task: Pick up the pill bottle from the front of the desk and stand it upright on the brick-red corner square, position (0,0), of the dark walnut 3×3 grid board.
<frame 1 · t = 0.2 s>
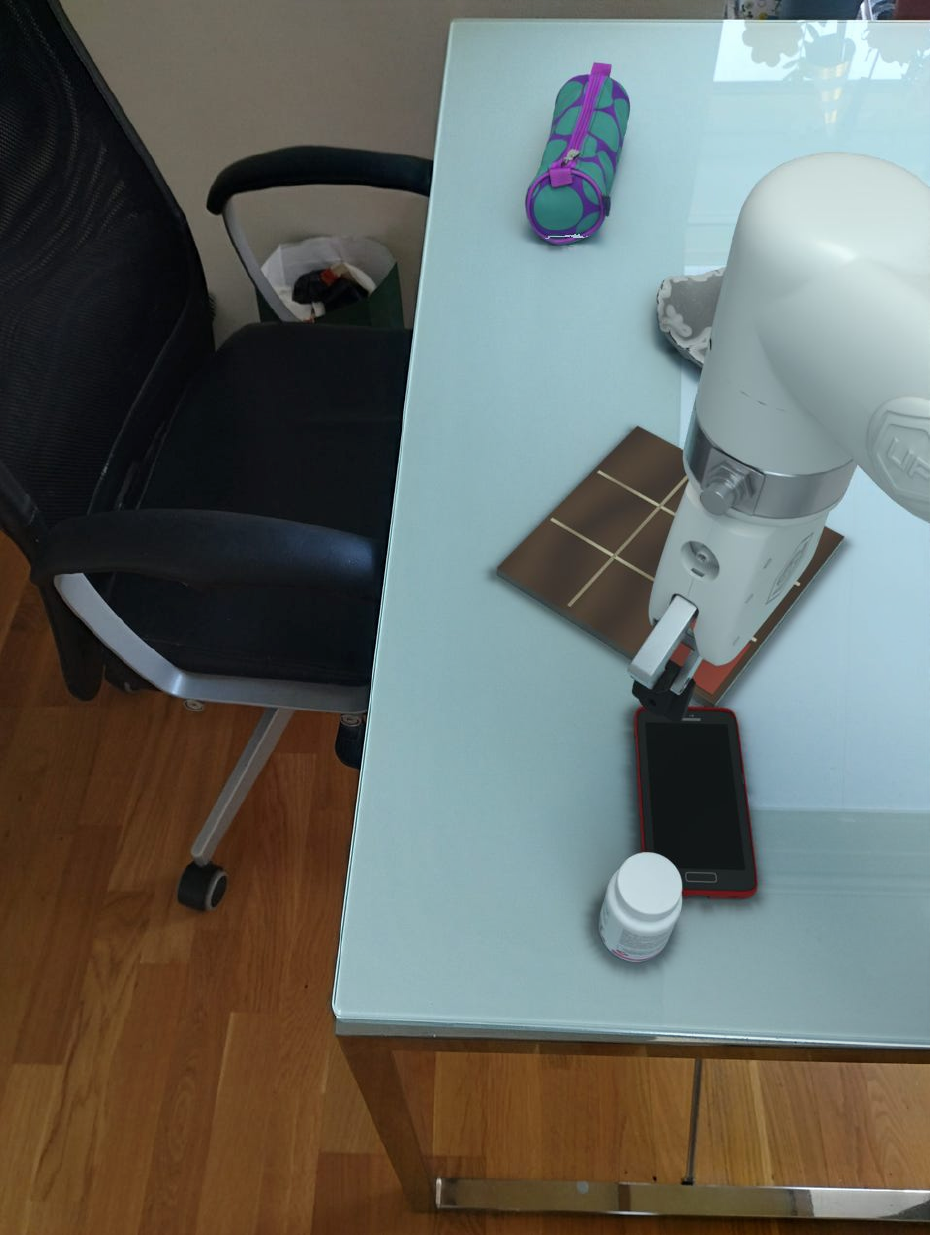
hand: (703, 649, 61), 19 cm above the table, tool pointing down, fingers open, 9 cm apart
grid board: (670, 559, 89), on the table
pencil case: (577, 196, 119), on the table
cell phone: (690, 801, 77), on the table
brain slice: (752, 348, 104), on the table
pill bottle: (632, 928, 72), on the table
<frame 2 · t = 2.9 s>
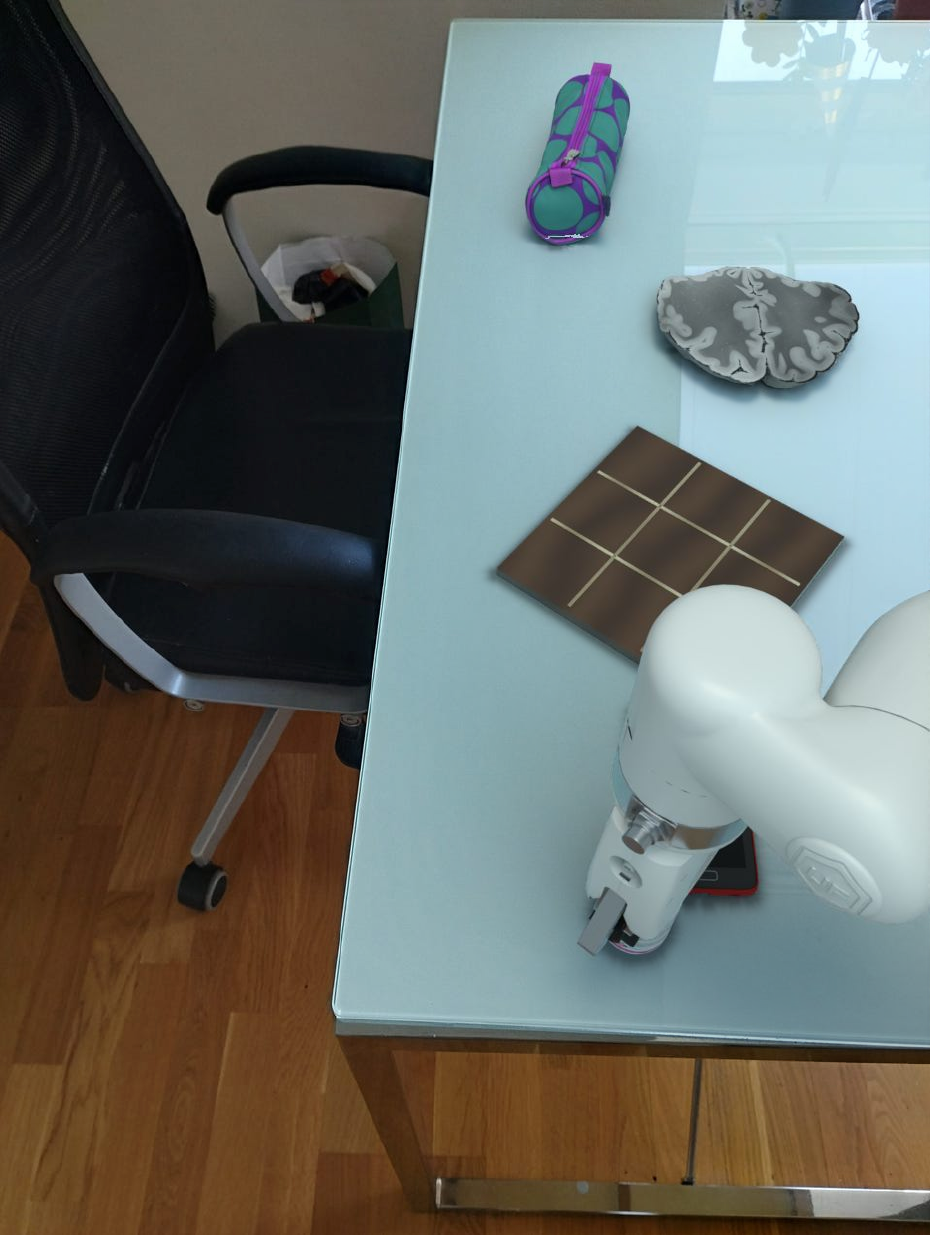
hand: (638, 895, 69), 4 cm above the table, tool pointing down, fingers closed on pill bottle, 4 cm apart
cell phone: (692, 799, 77), on the table, touching pill bottle
pill bottle: (633, 921, 72), on the table, touching cell phone, gripper
everything else where it was.
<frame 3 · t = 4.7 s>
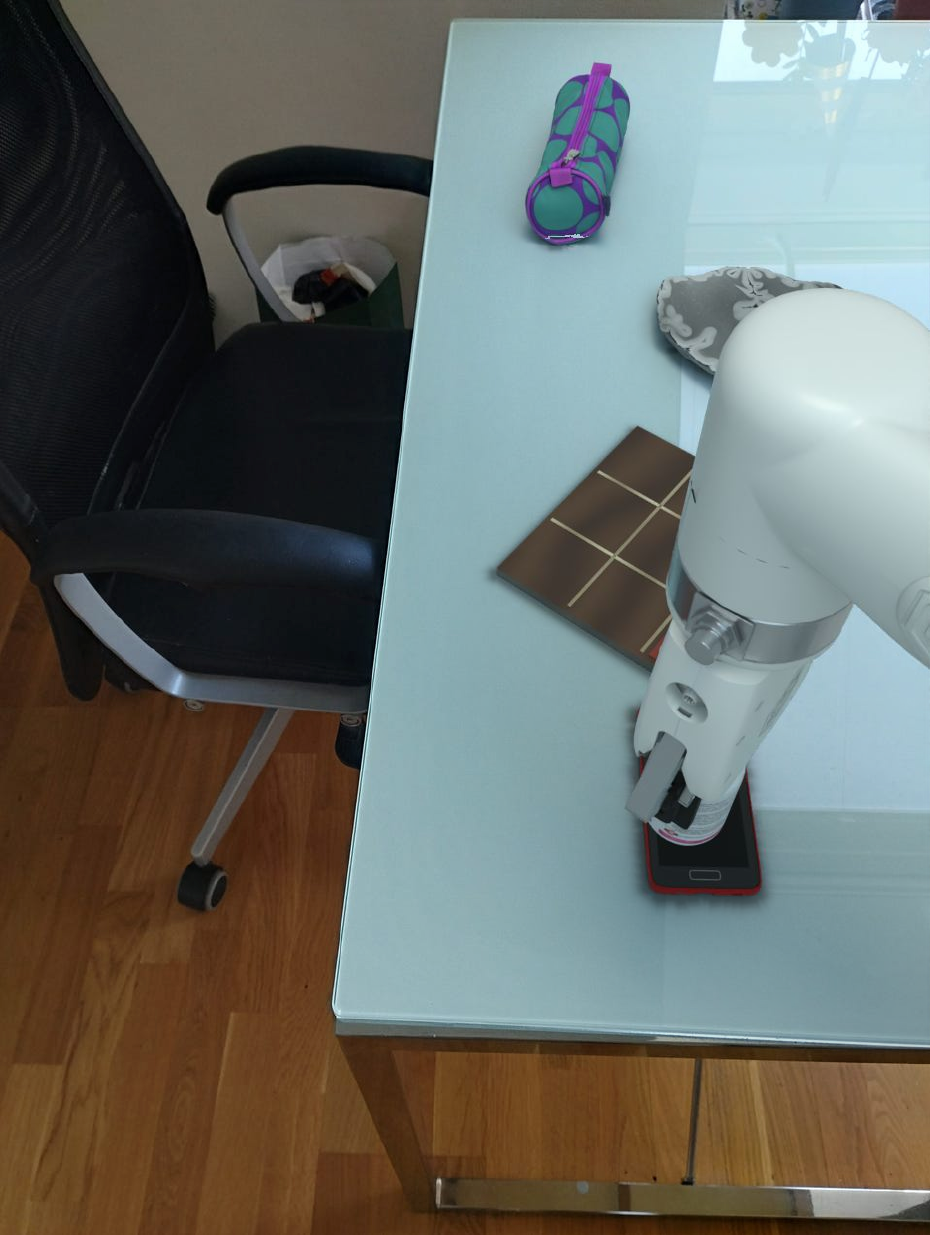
hand: (691, 772, 58), 18 cm above the table, tool pointing down, fingers closed on pill bottle, 4 cm apart
cell phone: (693, 799, 77), on the table
pill bottle: (683, 811, 62), point 14 cm above the table, touching gripper
everything else where it was.
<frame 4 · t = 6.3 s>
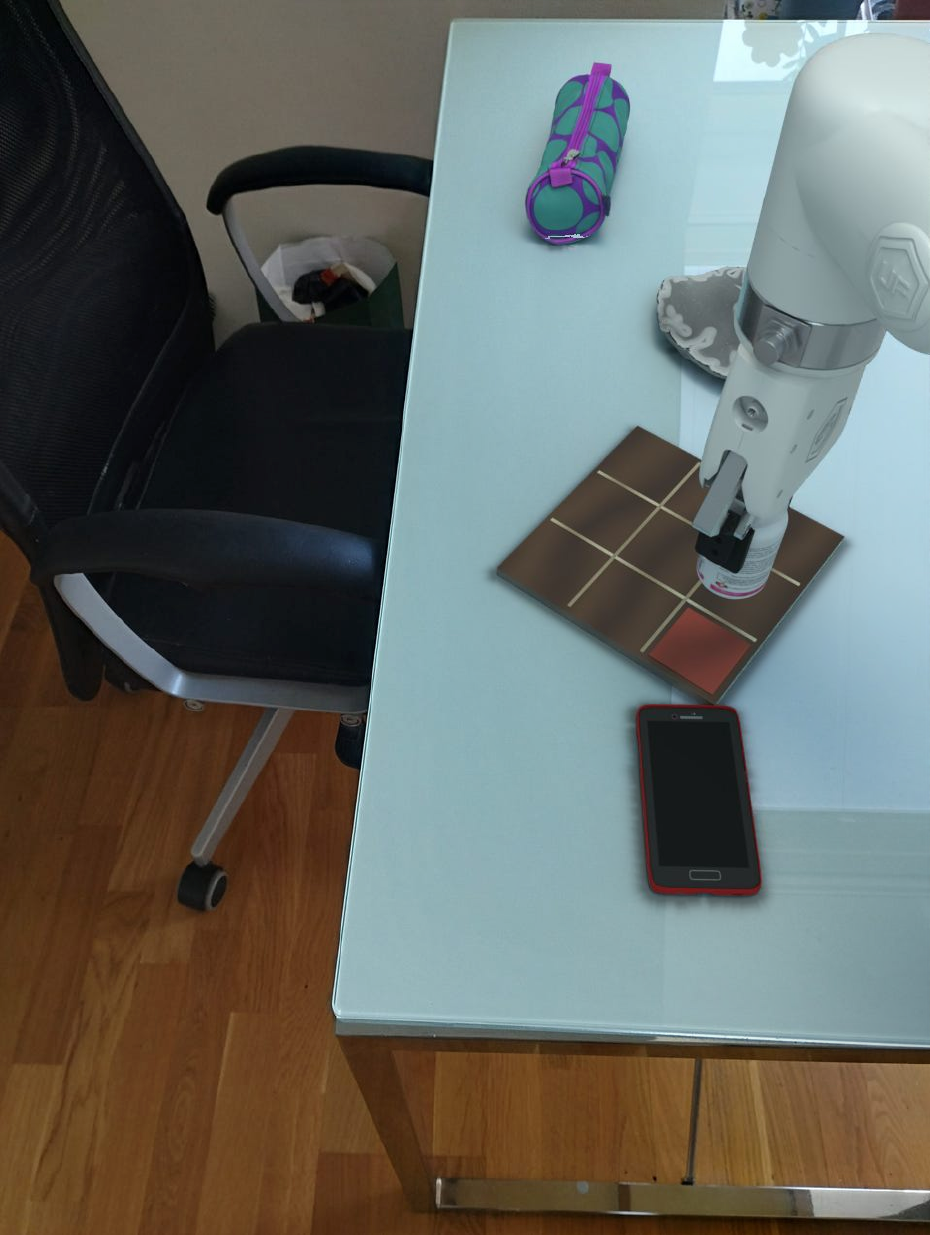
hand: (740, 531, 68), 18 cm above the table, tool pointing down, fingers closed on pill bottle, 4 cm apart
pill bottle: (730, 575, 72), point 13 cm above the table, touching gripper
everything else where it was.
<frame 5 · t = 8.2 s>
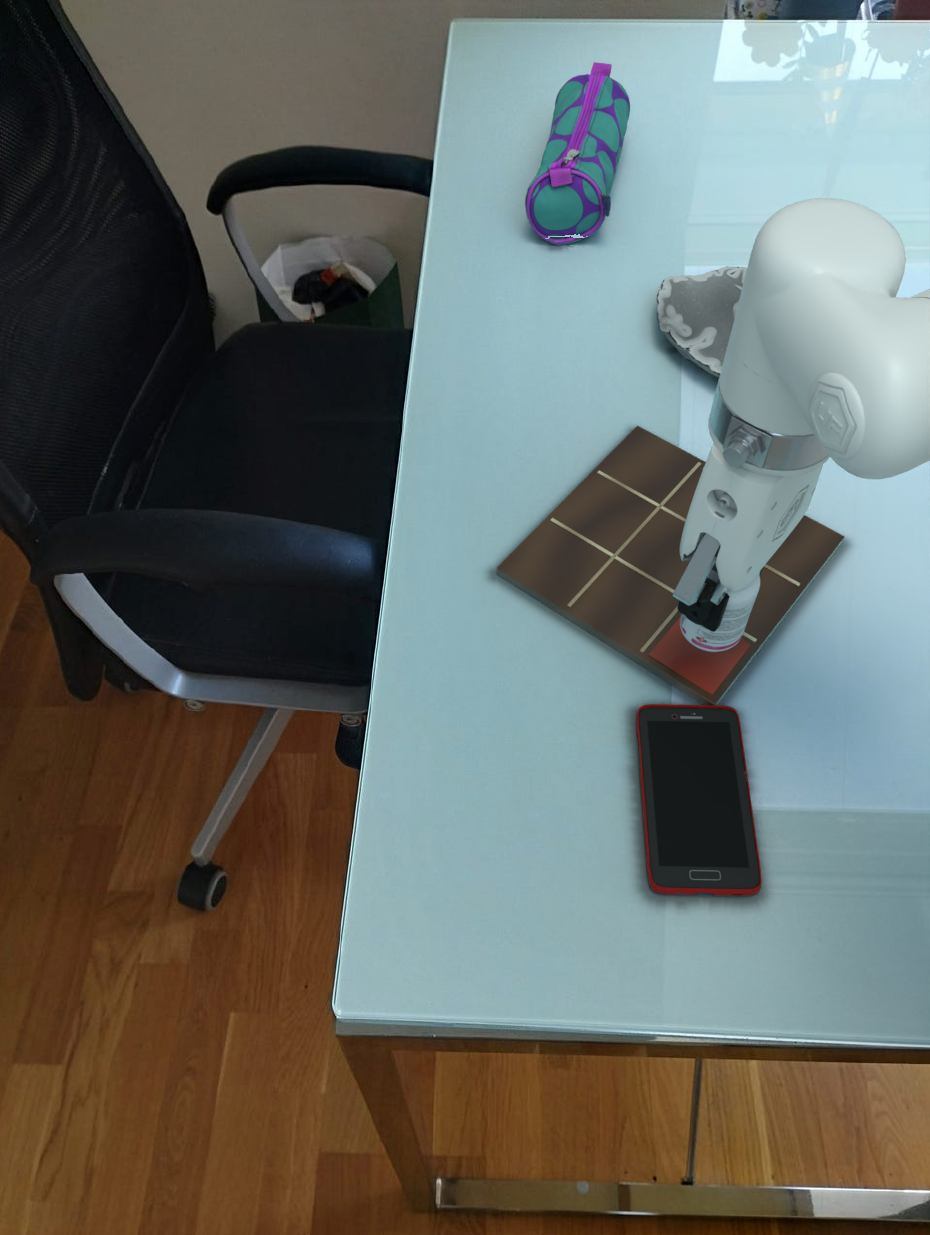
hand: (718, 593, 77), 9 cm above the table, tool pointing down, fingers closed on pill bottle, 4 cm apart
pill bottle: (710, 629, 80), point 4 cm above the table, touching gripper
everything else where it was.
when the fingers open (5 cm above the table, at t = 9.5 s): pill bottle stays where it is, resting on grid board.
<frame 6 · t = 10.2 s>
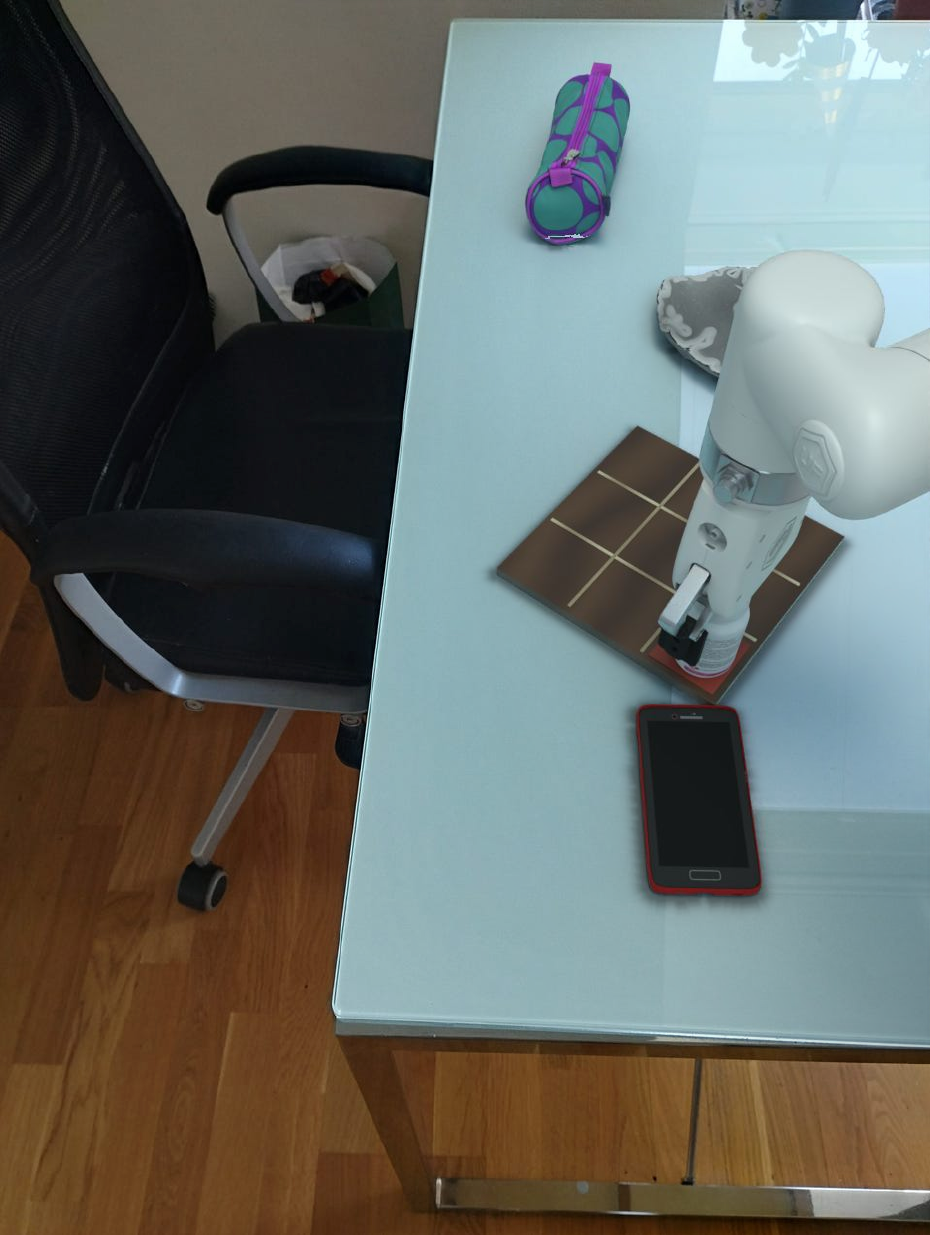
hand: (713, 610, 78), 7 cm above the table, tool pointing down, fingers open, 9 cm apart
pill bottle: (702, 655, 83), point 1 cm above the table, touching grid board
everything else where it was.
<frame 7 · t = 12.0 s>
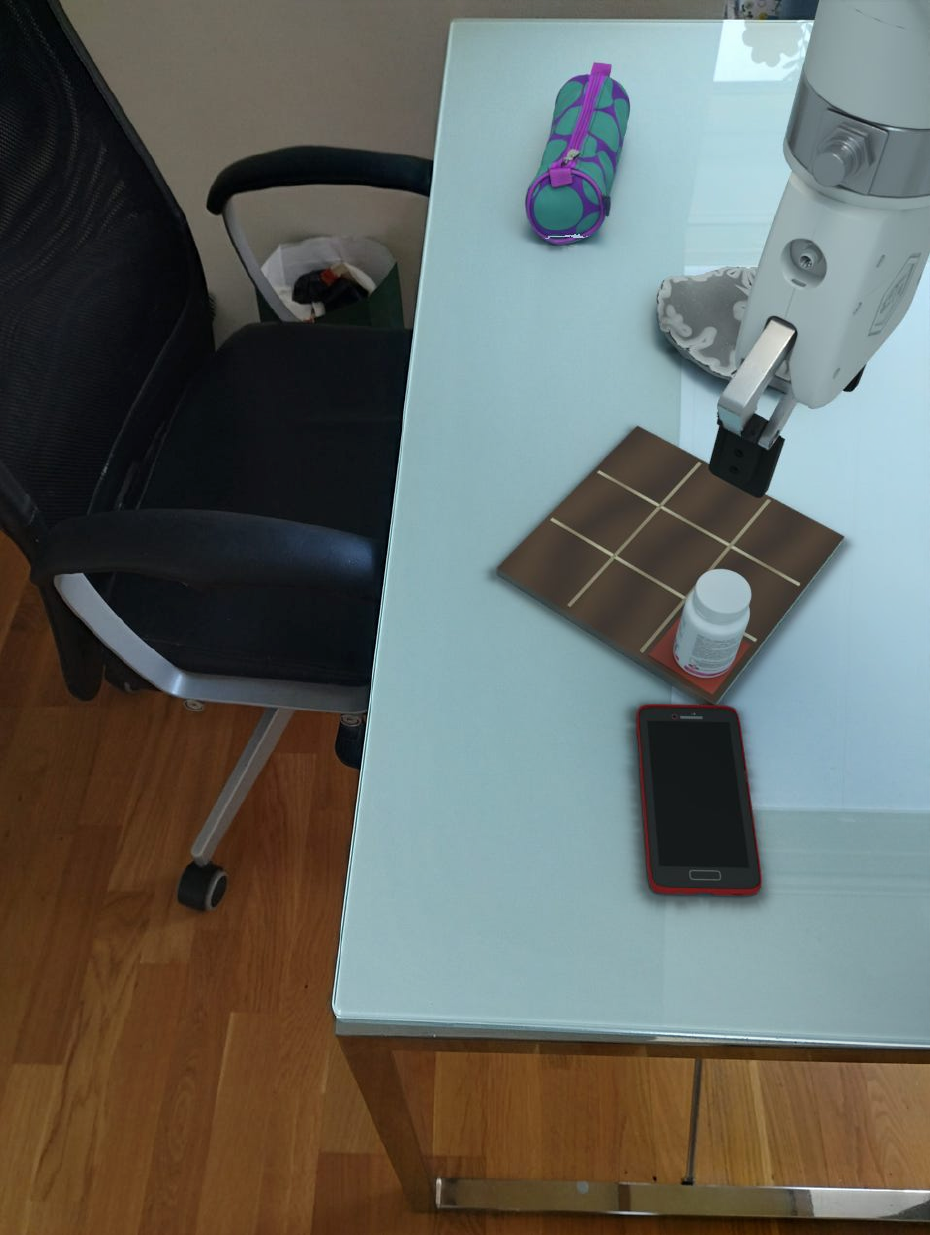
hand: (784, 429, 56), 30 cm above the table, tool pointing down, fingers open, 9 cm apart
nothing on the table moved.
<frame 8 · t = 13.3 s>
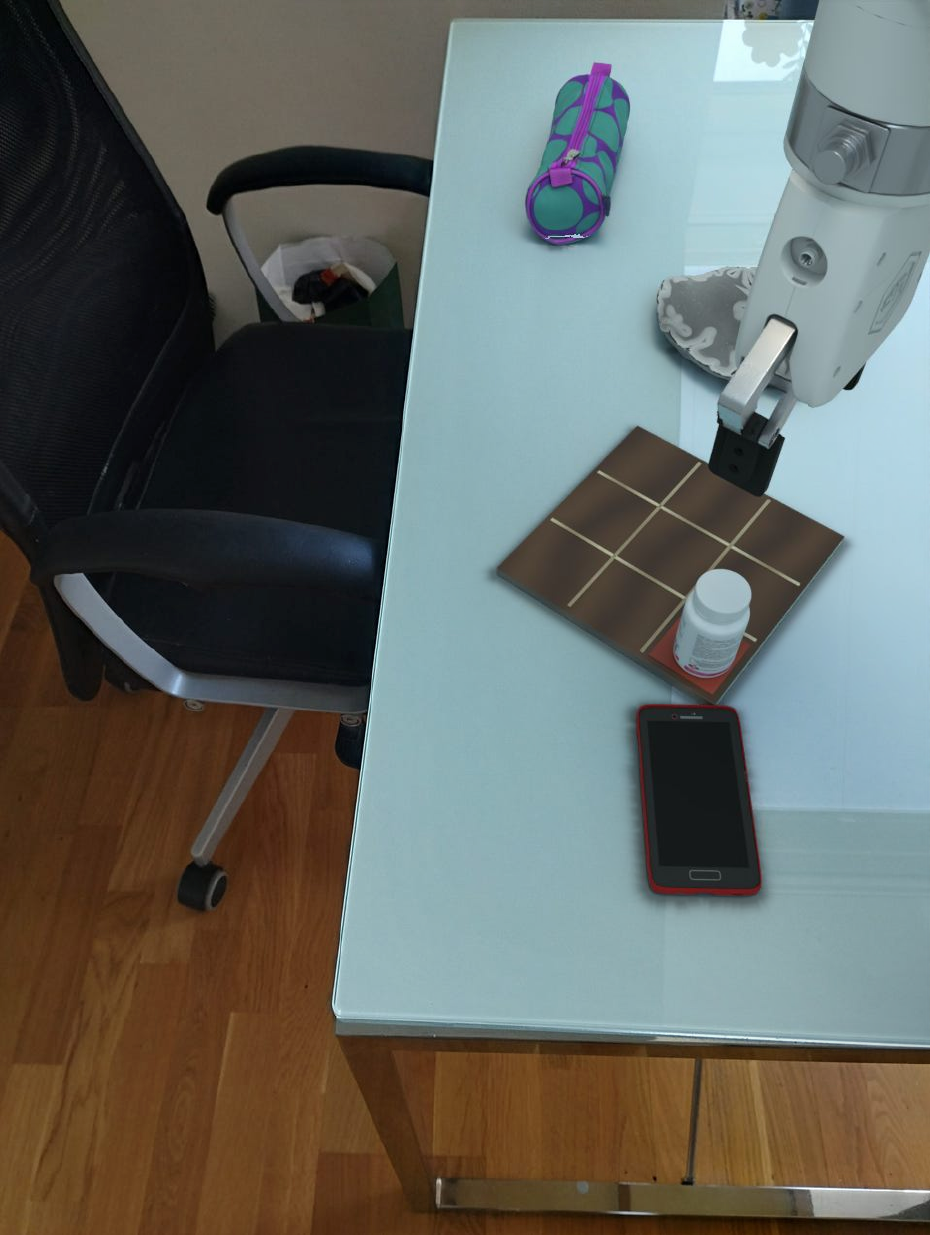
hand: (783, 427, 56), 30 cm above the table, tool pointing down, fingers open, 9 cm apart
nothing on the table moved.
at the end: pill bottle 0.4 cm from the target spot on the grid board, point 0.9 cm above the grid board's base; pill bottle tilted 0°; the gripper is holding nothing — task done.
